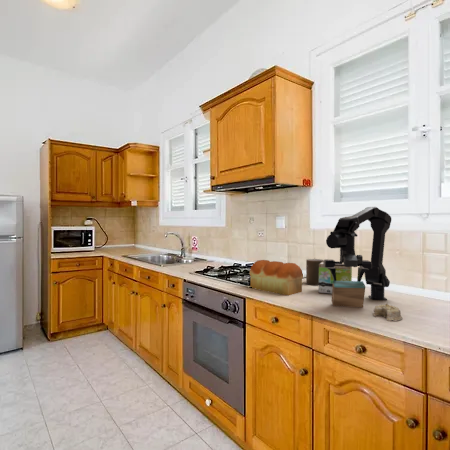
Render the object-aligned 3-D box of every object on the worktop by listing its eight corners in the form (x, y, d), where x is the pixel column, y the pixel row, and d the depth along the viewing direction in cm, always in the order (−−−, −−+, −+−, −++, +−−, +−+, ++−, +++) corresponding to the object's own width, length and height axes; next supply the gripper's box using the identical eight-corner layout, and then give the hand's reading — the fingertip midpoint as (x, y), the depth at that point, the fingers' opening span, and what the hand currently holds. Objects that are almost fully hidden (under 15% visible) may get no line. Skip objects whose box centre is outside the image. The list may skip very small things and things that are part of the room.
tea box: (318, 293, 159) (318, 263, 159) (321, 289, 168) (321, 261, 168) (350, 296, 153) (350, 265, 153) (351, 292, 162) (352, 262, 162)
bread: (303, 292, 162) (303, 263, 162) (288, 296, 153) (288, 265, 153) (264, 285, 180) (264, 258, 180) (249, 288, 171) (249, 260, 171)
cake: (383, 312, 126) (383, 299, 126) (408, 319, 118) (408, 304, 118) (366, 316, 122) (366, 302, 122) (391, 323, 113) (391, 308, 113)
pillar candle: (319, 286, 177) (319, 258, 176) (303, 283, 183) (303, 257, 183) (326, 283, 184) (326, 257, 184) (310, 281, 190) (310, 256, 190)
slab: (331, 300, 139) (333, 280, 135) (360, 301, 137) (362, 281, 133) (333, 306, 135) (334, 285, 131) (362, 307, 133) (365, 286, 130)
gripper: (327, 248, 129) (327, 287, 129) (376, 249, 126) (376, 289, 126) (323, 246, 140) (323, 282, 140) (368, 247, 137) (368, 283, 137)
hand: (346, 284), depth 135 cm, fingers open, 9 cm apart
